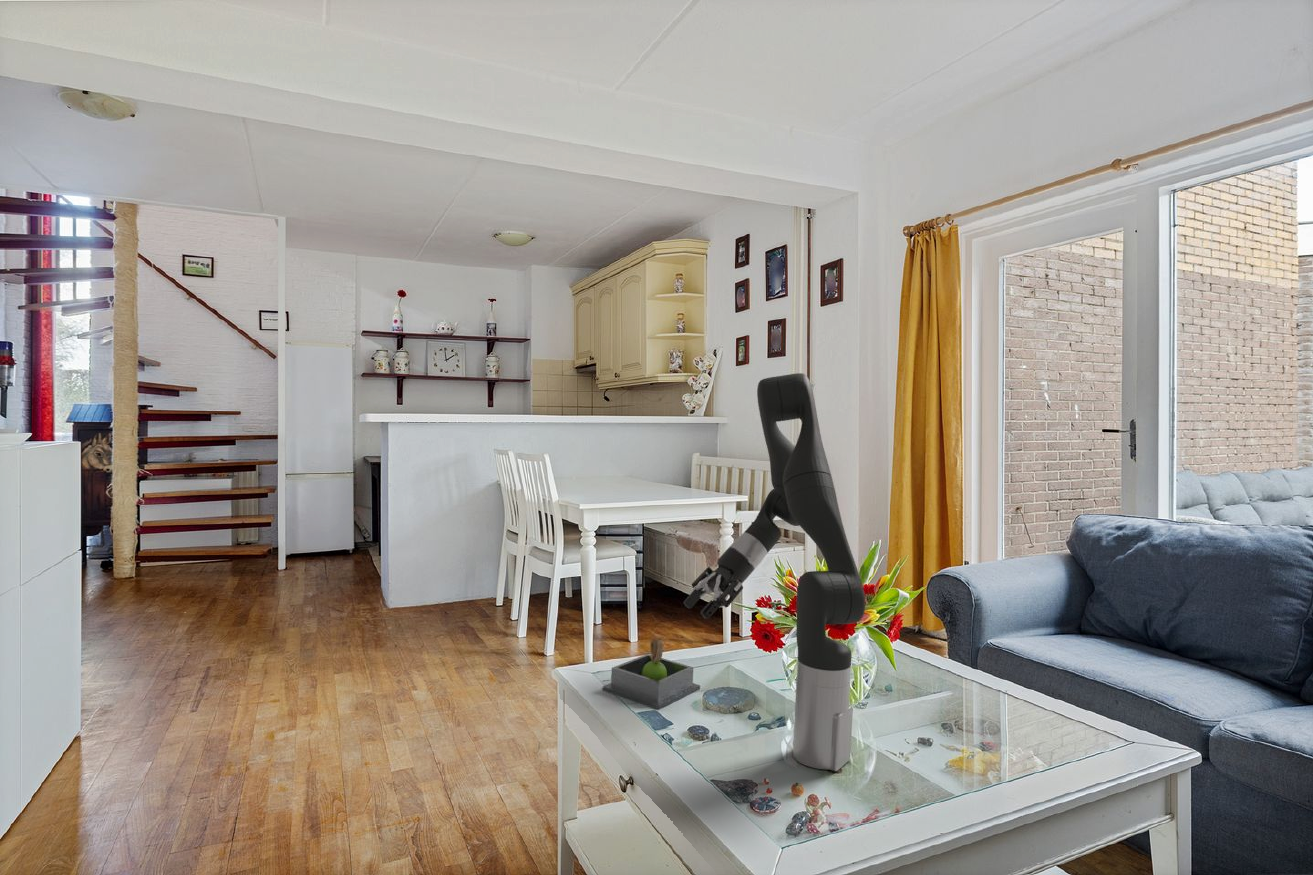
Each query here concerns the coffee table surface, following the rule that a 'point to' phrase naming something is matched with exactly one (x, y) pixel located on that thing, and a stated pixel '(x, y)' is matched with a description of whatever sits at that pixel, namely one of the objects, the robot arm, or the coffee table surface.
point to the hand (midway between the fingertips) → (694, 611)
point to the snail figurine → (655, 661)
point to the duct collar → (651, 682)
